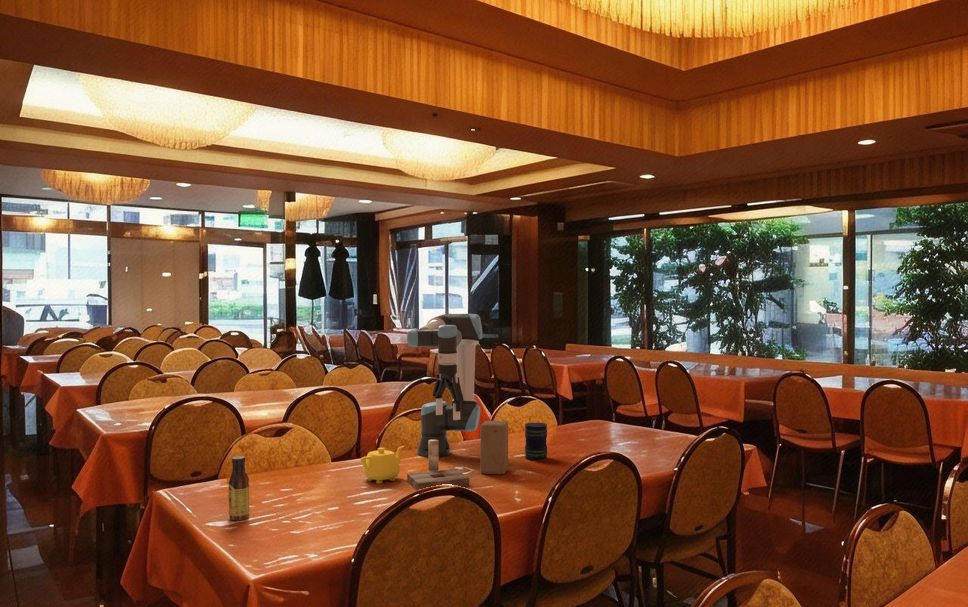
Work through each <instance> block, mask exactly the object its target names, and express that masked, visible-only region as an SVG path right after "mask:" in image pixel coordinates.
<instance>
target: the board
mask: <svg viewBox="0 0 968 607" xmlns="http://www.w3.org/2000/svg"><path fill="white" fill-rule="evenodd" d="M406 474H407V475H406V476H407V477H406V482H407V483H408V484H409V485H411V487H413V489H414V490H416V491H417V490H419V489H423V488H426V487H431V486H436V485H442V484H452V485H458V486H464V487H469V486H470V477H469V476H467V475H466V474H465V473H463V472H461V471H460V470H459V469H457V468H453V469H443V470H438V471H430V472H429V471H422V472H421V471H420V472H413V473H412V472H411V473H406ZM464 487H463V488H464Z"/></svg>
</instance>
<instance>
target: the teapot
mask: <svg viewBox="0 0 968 607" xmlns="http://www.w3.org/2000/svg"><path fill="white" fill-rule="evenodd" d="M404 447H405V445H401V446H399V447H398V448H397V450H396V451H395V452H396V453H395V452H394V451H391V450H387V449H386V447H378V448H377V450H373V451H368V453H367V455H366V456H363V457H361V458H360V463H361V466H362V472H363V475H364V476H365V478H367V481H368V482H370V481H371V482H372V481H374V480H375V481H376V482H375V483H376V484H378V485H380V484H381V485H382V484H383V482H384V480H389V481H390V482H391V481H392V482H393V481H396V478H398V476H399V474H400V462H401V452H402V449H404Z"/></svg>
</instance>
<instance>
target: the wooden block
mask: <svg viewBox="0 0 968 607" xmlns="http://www.w3.org/2000/svg"><path fill="white" fill-rule="evenodd" d="M479 431H480V433H479V434H480V435H479V436H480V438H479V440H480V444H479V445H480V447H479V448H480V455H479V456H480V457H479V458H480V460H479V461H480V468H479V469H480V471H479V472H480V473H481V474H484V475H505V474H506V472H507V470H508V469H509V422H508V421H506V420H505V421H504V420H485V421H484V422H483V423H481V424H480V430H479Z"/></svg>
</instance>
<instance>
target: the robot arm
mask: <svg viewBox="0 0 968 607" xmlns="http://www.w3.org/2000/svg"><path fill="white" fill-rule="evenodd" d="M481 320H482V319H481V317H480V315H479V314H476V313H445V314H441V315H437V316H434V317H433V318H430V319H428V322H427V323H426V324H424V325H423V326H421V327H420V328H415V327H414V328H410V329H408V330H407V333H406V341H407V342H406V343H407V346H409V347H410V348H411V347H412V348H430V347H431V348H438V350H437V352H438V353H437V354H438V355H437V359H438V360H437V363H438V366H437V372H438V374H436V380H435V383H434V388H433V391H432V397H434V399H435V401H433V402H432V401H431V402H428V403H424V404H423V405H422V406H421V411H420V435H421V436H420V440H419V443H418V446H417V449H416V450H417V452H416V453H417V455H419V456H421V457H426V458H427V457H428V441H429V440H438V442H439V457H444V456H449V455H450V454H451V445H450V443H449V439H448V436H447V435H448V434H447V433H448V432H449V431H450V432H467V433H468V432H474V431H476V430H477V428H478V426H479V422H480V418H481V406H480V405H479V404H478V400H476V399H475V377H476V376H475V372H476V371H475V370H476V369H475V368H476V346H478V345H479V343H480V340H482V339H483V327H482V326H483V325H482V321H481ZM446 389H448V390H449V392H450V394H451V397H452V400H451V404H447V401H445V400H444V401H443V394H444V392H445V390H446Z"/></svg>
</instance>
